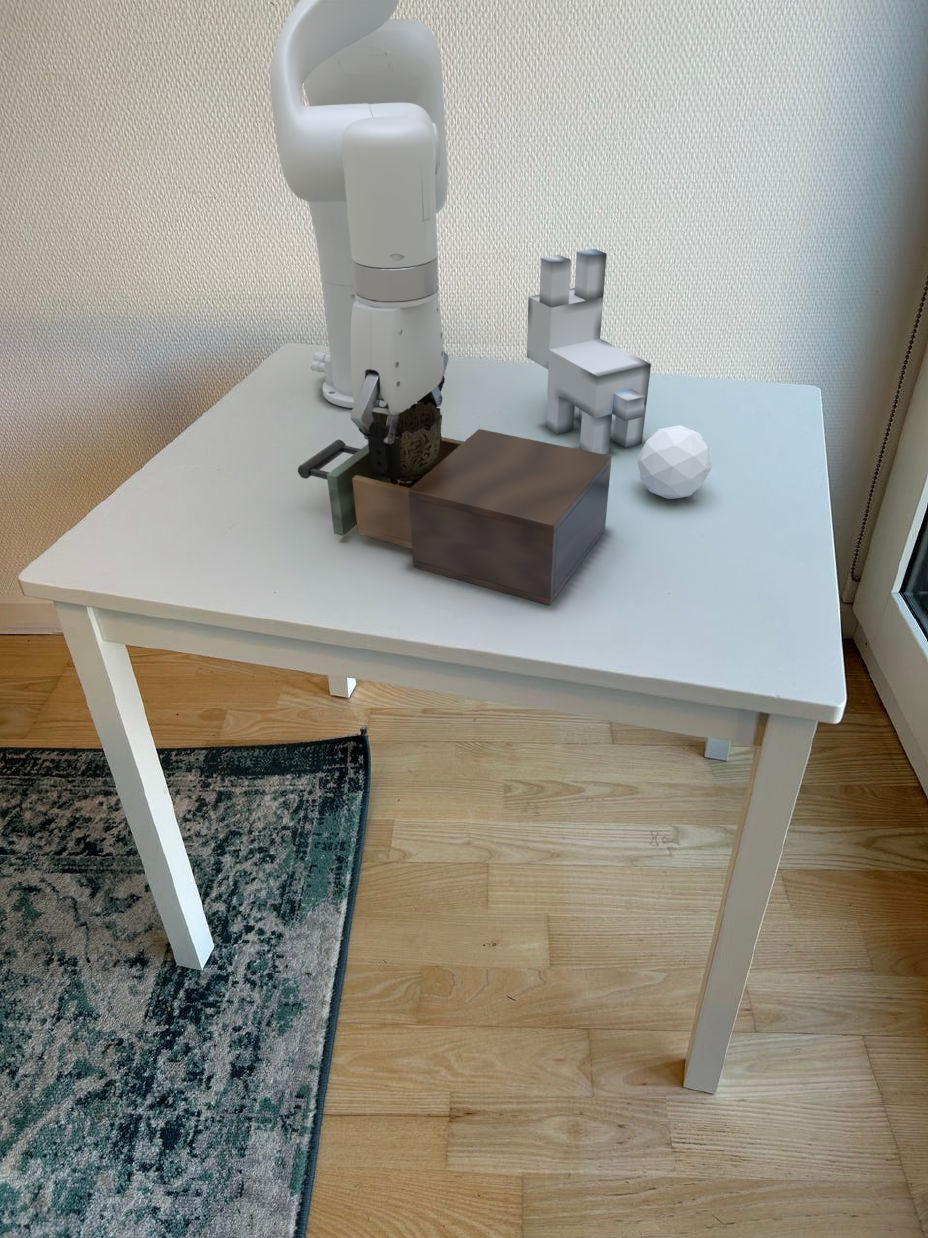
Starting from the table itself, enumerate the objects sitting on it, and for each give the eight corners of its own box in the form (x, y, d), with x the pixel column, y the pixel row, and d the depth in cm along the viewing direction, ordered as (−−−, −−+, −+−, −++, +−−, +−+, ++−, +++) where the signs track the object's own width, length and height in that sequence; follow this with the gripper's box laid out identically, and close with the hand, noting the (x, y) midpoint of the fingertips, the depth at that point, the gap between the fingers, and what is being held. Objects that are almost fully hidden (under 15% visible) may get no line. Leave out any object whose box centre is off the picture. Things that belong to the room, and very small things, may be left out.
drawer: (284, 520, 91) (274, 461, 87) (354, 466, 100) (349, 411, 96) (449, 565, 83) (447, 504, 79) (508, 503, 93) (509, 445, 88)
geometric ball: (647, 511, 98) (619, 447, 97) (712, 481, 97) (684, 415, 96) (663, 512, 90) (632, 442, 89) (733, 479, 90) (703, 408, 89)
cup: (451, 472, 91) (449, 401, 87) (436, 507, 86) (432, 433, 81) (383, 467, 93) (378, 396, 88) (364, 500, 87) (356, 427, 82)
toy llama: (604, 465, 101) (619, 290, 89) (525, 412, 113) (529, 252, 101) (654, 451, 104) (676, 279, 92) (572, 401, 116) (582, 244, 104)
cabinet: (412, 567, 85) (407, 489, 80) (479, 500, 95) (478, 428, 90) (549, 605, 79) (554, 525, 74) (604, 531, 89) (612, 455, 84)
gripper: (409, 249, 84) (418, 418, 95) (303, 301, 72) (327, 488, 83) (477, 258, 81) (478, 431, 92) (380, 313, 69) (394, 506, 80)
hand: (407, 457), depth 87 cm, fingers closed on cup, 7 cm apart
